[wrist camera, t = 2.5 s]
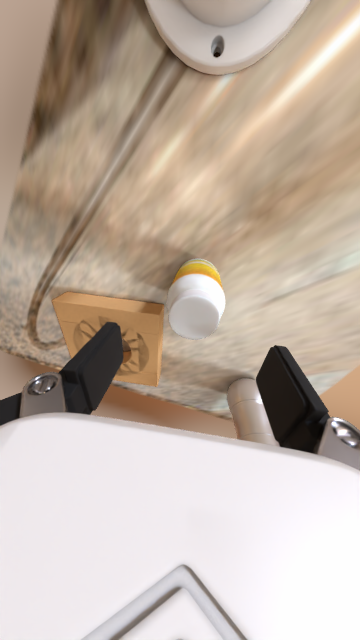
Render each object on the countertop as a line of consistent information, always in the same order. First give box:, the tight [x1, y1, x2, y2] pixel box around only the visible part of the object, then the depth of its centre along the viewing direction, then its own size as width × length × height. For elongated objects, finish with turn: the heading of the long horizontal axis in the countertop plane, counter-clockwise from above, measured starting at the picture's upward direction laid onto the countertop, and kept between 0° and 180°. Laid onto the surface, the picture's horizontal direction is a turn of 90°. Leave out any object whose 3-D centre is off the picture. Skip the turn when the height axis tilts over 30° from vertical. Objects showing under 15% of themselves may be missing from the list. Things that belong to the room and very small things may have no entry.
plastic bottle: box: [227, 378, 280, 447], centre depth 22 cm, size 6×7×20 cm
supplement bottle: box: [166, 259, 225, 340], centre depth 17 cm, size 5×5×10 cm
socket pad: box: [52, 292, 164, 387], centre depth 26 cm, size 14×14×3 cm
